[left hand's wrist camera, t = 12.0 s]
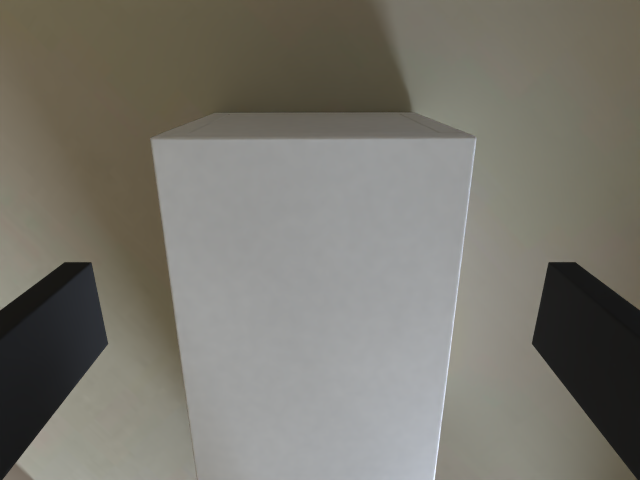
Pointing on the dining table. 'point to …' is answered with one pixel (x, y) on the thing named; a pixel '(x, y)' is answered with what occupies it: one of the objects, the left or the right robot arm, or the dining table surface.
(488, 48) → the dining table surface
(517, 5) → the dining table surface
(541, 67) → the dining table surface
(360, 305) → the white rectangular block
